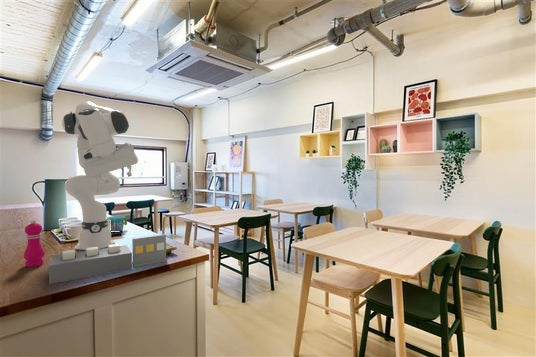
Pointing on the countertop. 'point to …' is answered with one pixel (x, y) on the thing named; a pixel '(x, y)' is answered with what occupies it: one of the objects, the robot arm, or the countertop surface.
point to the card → (149, 250)
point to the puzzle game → (170, 248)
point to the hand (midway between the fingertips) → (118, 179)
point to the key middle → (92, 251)
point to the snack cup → (117, 222)
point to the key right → (113, 248)
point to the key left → (68, 254)
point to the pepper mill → (33, 245)
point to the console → (89, 264)
